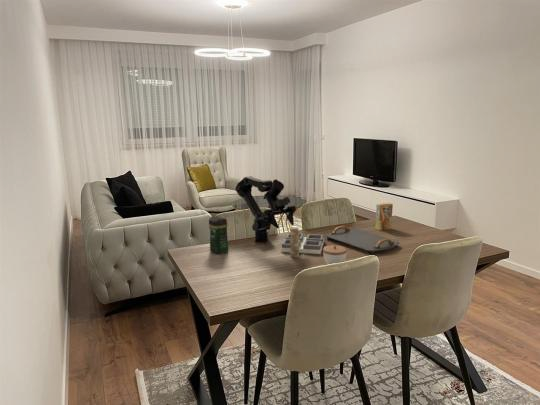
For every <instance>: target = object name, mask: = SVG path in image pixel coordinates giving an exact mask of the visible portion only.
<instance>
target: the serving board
mask: <svg viewBox="0 0 540 405" xmlns="http://www.w3.org/2000/svg"><path fill="white" fill-rule="evenodd" d="M325 237H326V239H327V240H329V241H330V240H331V239H332V240H335V241H338V242H340V243H344V244H347V245H349V246H353V247H355V248H359V249H361V250H365V251H366V252H367V251H368V252H369V255H374V254H375V252H380V251H385V250H390V249H393V248H397V247H398V246H399V244H400V242H399V241H398V240H396V239H392V238H387V237H385V236H380V235H378V234H375V233H371V232H367V231H365V230H364V231H363V230H361V229H357V228H350V227H349V228H348V227H347V226H346V225H340V226H337V227H335V228H334V229H333V231H331V232H328V233H326V234H325Z"/></svg>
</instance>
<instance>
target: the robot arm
mask: <svg viewBox="0 0 540 405" xmlns="http://www.w3.org/2000/svg"><path fill="white" fill-rule="evenodd" d="M252 188H257V191H259V192H260V193H264V195H263V200H266V202H267V204H268V206H267V207H268V208H269V209H265V210H264V211H262V210H261V208H260V206H259V205H258V203H257V201H256V199H255V197H254V196H253V194H252V190H253V189H252ZM284 188H285V185H284V183H283V182H281V181H280V180H278V179H277V178H276V179H273V181H272V180H271V179H270V180H268V179H267V180H261V179H259V178H256V177H254V176H244V177H243V178H242V179H241V180H240V181H239V182H237V183H236V185H235V192H236V194H238V196H239V197H240V198H243V199H244V201H245V203H246V205H247V208H249V210H250V212H251V213H252V216H253V217H254V219H253V224H252V226H251V227H252V228H251V229H252V231H253V232H254V235H255V237H254V238H255V239H254V242H255V243H267V242H268V241H269V231H268V230H270V229H271V225H272V226H273V227H275V228H276V229H279V228H280V226H279V224H278V221H277V220H276V217H275V216H277V215H282V214H283V215H284V214H285V217H286V219H287V220H288V222H289V224H291V226H294V225H295V222H294V213H295V212H296V211H297V207H296V205H294V204H293V205H289V204H290V203H291V198H290V197H289V196H286V197H283V198H279V197H278V196H279V195H280V194H281V193H282V191H283V190H284ZM287 205H288V206H287ZM286 206H287V207H286Z"/></svg>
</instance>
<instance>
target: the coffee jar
mask: <svg viewBox="0 0 540 405" xmlns="http://www.w3.org/2000/svg"><path fill="white" fill-rule="evenodd" d="M208 227H209V251H210V252H211V253H212V254H214V255H225V254H227V253H228V252H229V243H228V242H229V241H228V220H227V219H226V218H223V217H221V216H218V215H215V216H210V217H209V219H208Z"/></svg>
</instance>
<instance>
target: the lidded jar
mask: <svg viewBox="0 0 540 405" xmlns="http://www.w3.org/2000/svg"><path fill="white" fill-rule="evenodd" d="M322 251H323V253H322V254H323V259H324V261H325V263H326V264H327V265H328V264H332V263H338V262H343V261H344V262H345V261H346V258H347V248H346V247H344V246H342V245H336V244H335V245H334V244H333V245H332V244H331V245H326V246H323V247H322Z"/></svg>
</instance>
